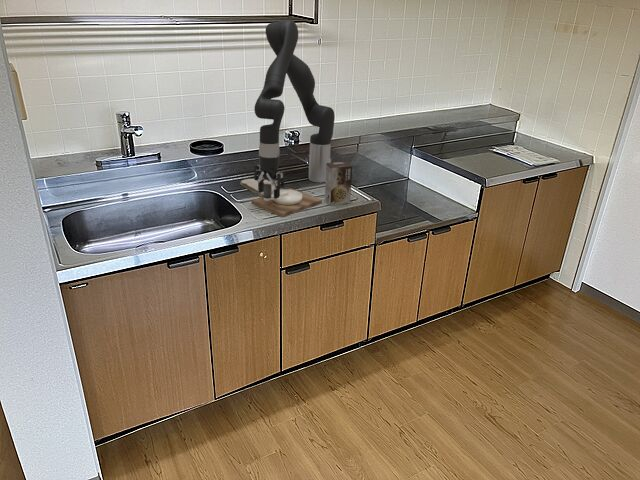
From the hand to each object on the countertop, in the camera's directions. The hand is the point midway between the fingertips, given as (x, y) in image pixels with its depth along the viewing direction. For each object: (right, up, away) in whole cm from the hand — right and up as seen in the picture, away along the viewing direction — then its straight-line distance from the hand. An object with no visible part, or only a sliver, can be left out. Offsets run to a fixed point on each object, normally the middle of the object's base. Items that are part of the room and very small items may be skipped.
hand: (268, 194), depth 200 cm
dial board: (+6, -3, +9) cm, 12 cm away
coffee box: (+27, -2, +14) cm, 30 cm away
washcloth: (-6, +4, +24) cm, 26 cm away
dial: (+4, -2, +7) cm, 8 cm away
